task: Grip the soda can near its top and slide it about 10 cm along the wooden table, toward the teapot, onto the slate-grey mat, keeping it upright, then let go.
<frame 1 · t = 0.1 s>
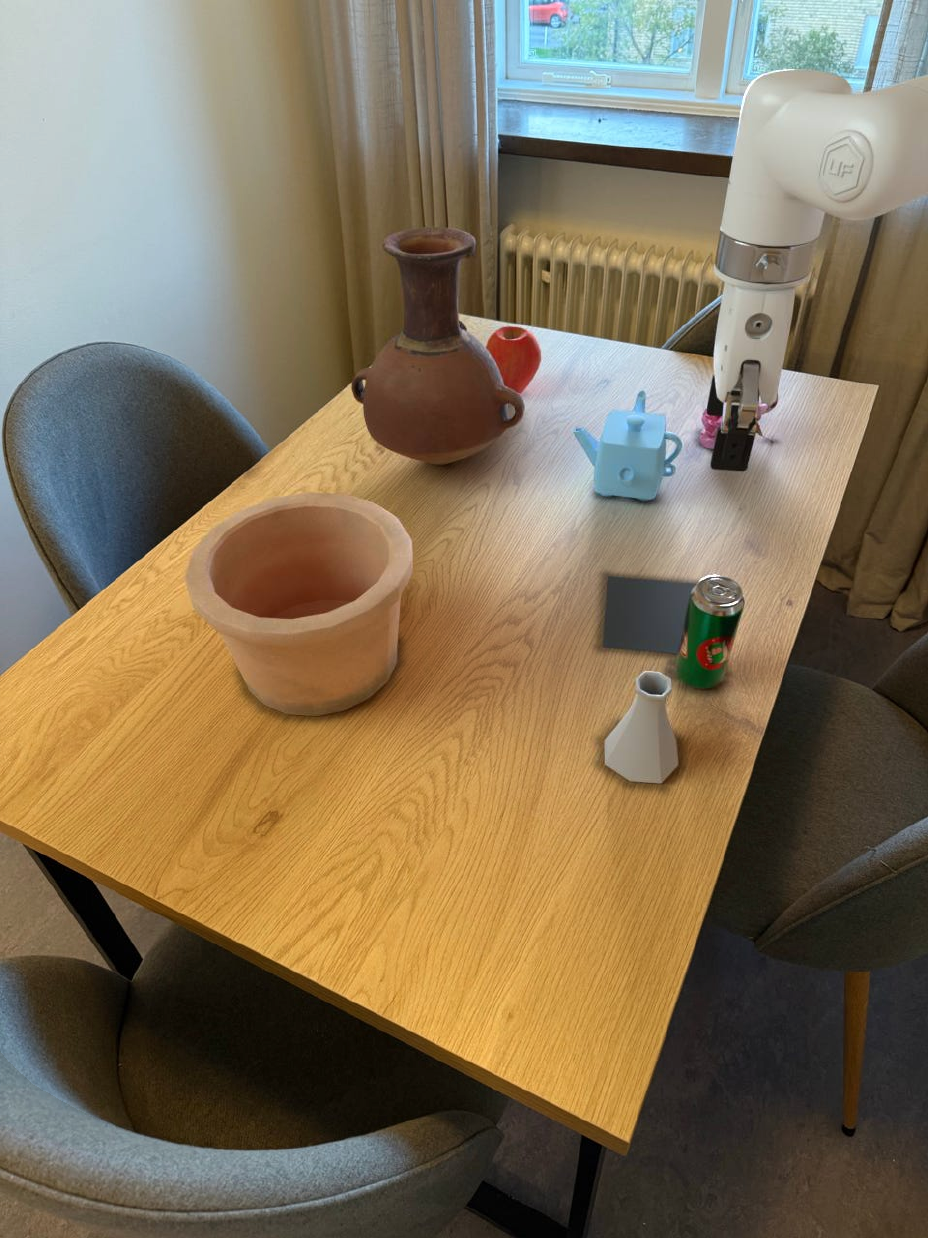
hand: (725, 440, 79), 22 cm above the table, tool pointing down, fingers open, 9 cm apart
vase: (438, 460, 119), on the table
mat: (659, 615, 94), on the table
pottery: (321, 660, 91), on the table
soda can: (698, 674, 87), on the table, touching mat
apple: (512, 395, 132), on the table
flower: (729, 441, 121), on the table
flask: (640, 755, 80), on the table
teapot: (621, 484, 113), on the table
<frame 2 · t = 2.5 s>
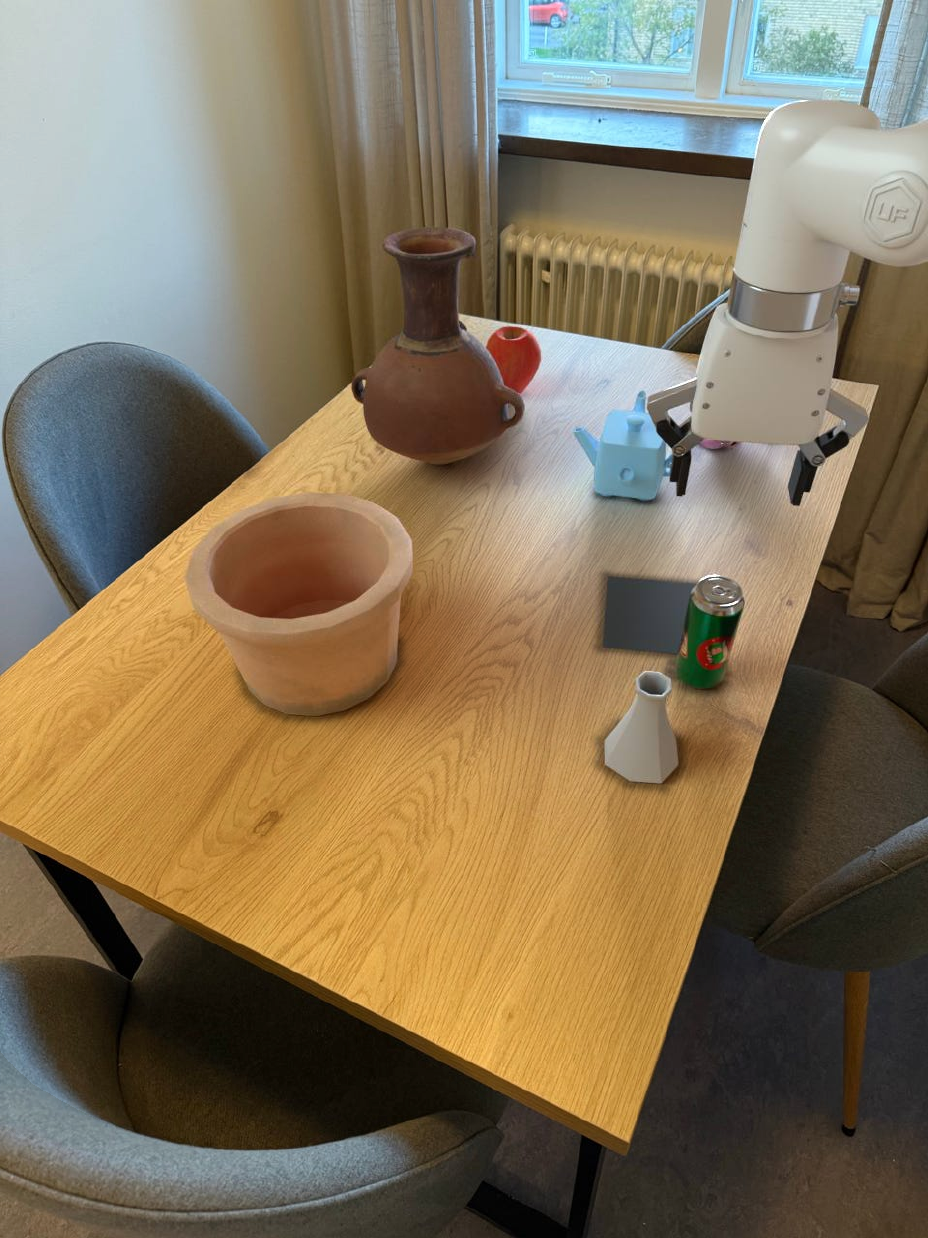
hand: (736, 492, 73), 22 cm above the table, tool pointing down, fingers open, 9 cm apart
nothing on the table moved.
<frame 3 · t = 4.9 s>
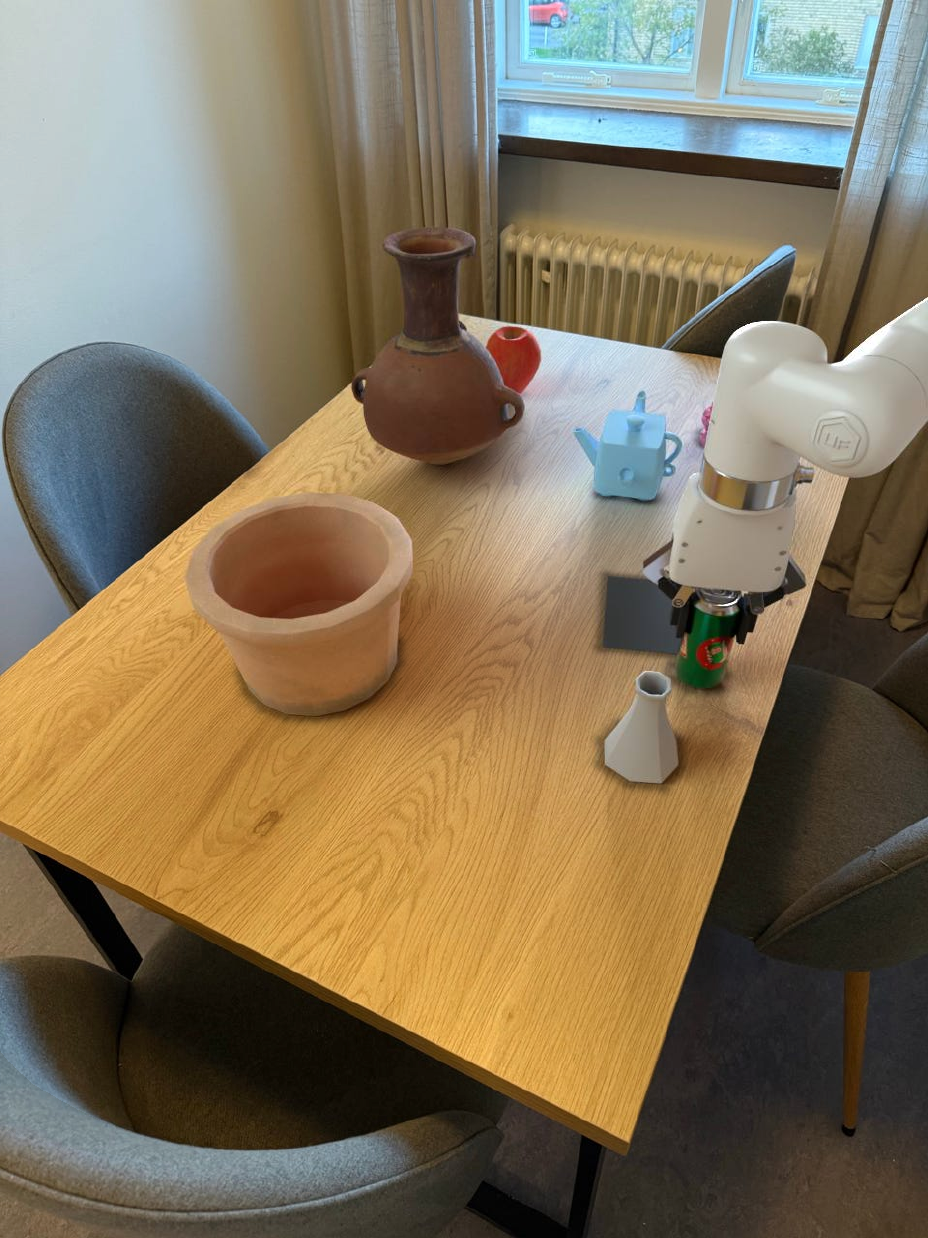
hand: (709, 630, 82), 7 cm above the table, tool pointing down, fingers closed on soda can, 5 cm apart
soda can: (698, 674, 87), on the table, touching gripper
everything else where it was.
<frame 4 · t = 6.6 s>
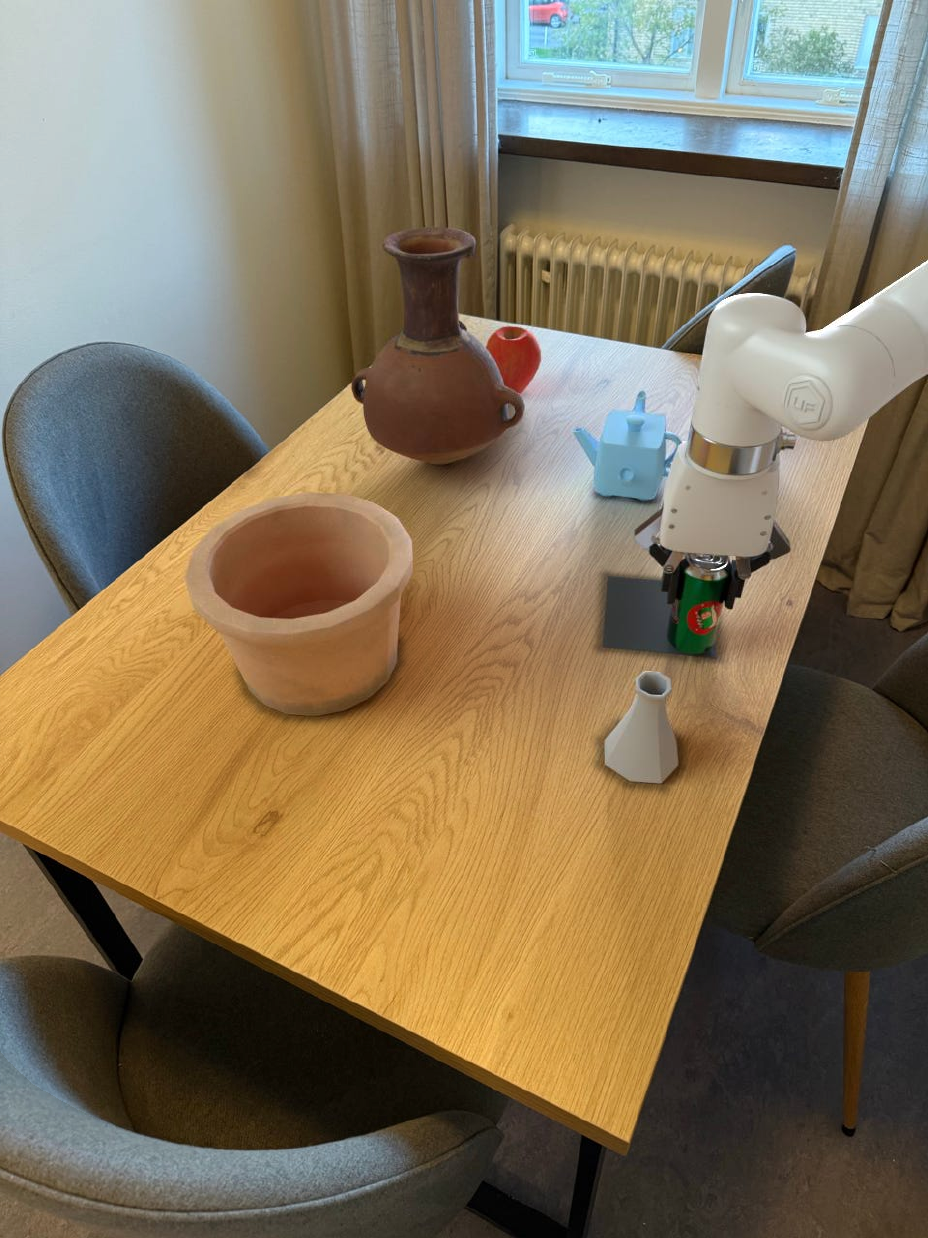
hand: (699, 596, 86), 7 cm above the table, tool pointing down, fingers closed on soda can, 5 cm apart
soda can: (689, 641, 91), resting on mat, touching gripper
everything else where it was.
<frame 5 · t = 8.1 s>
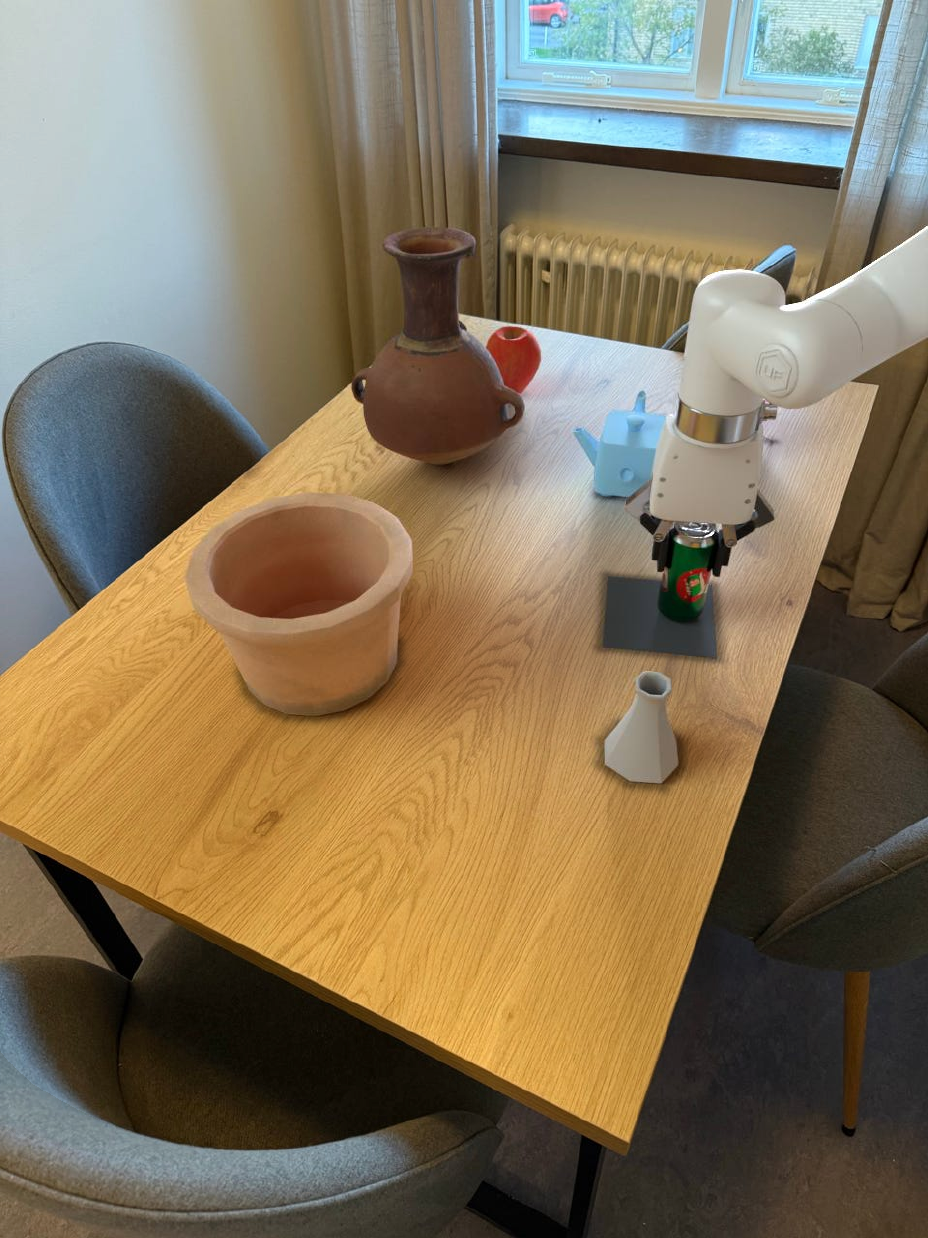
hand: (687, 565, 89), 7 cm above the table, tool pointing down, fingers closed on soda can, 5 cm apart
soda can: (679, 610, 94), resting on mat, touching gripper
everything else where it was.
when the fingers open (7 cm above the table, at t = 8.6 s): soda can stays where it is, resting on mat.
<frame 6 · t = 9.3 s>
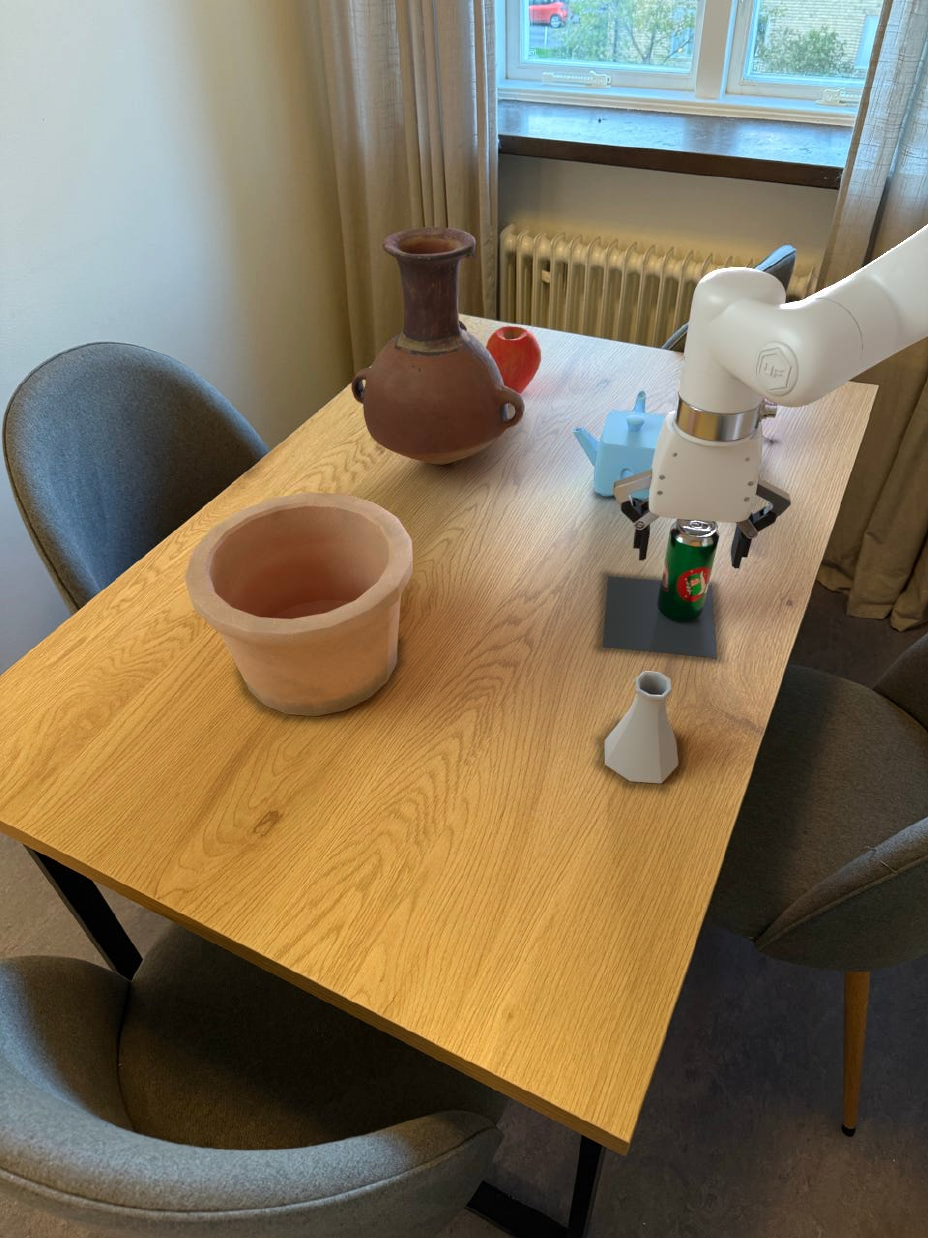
hand: (688, 556, 89), 8 cm above the table, tool pointing down, fingers open, 9 cm apart
soda can: (678, 611, 94), resting on mat
everything else where it was.
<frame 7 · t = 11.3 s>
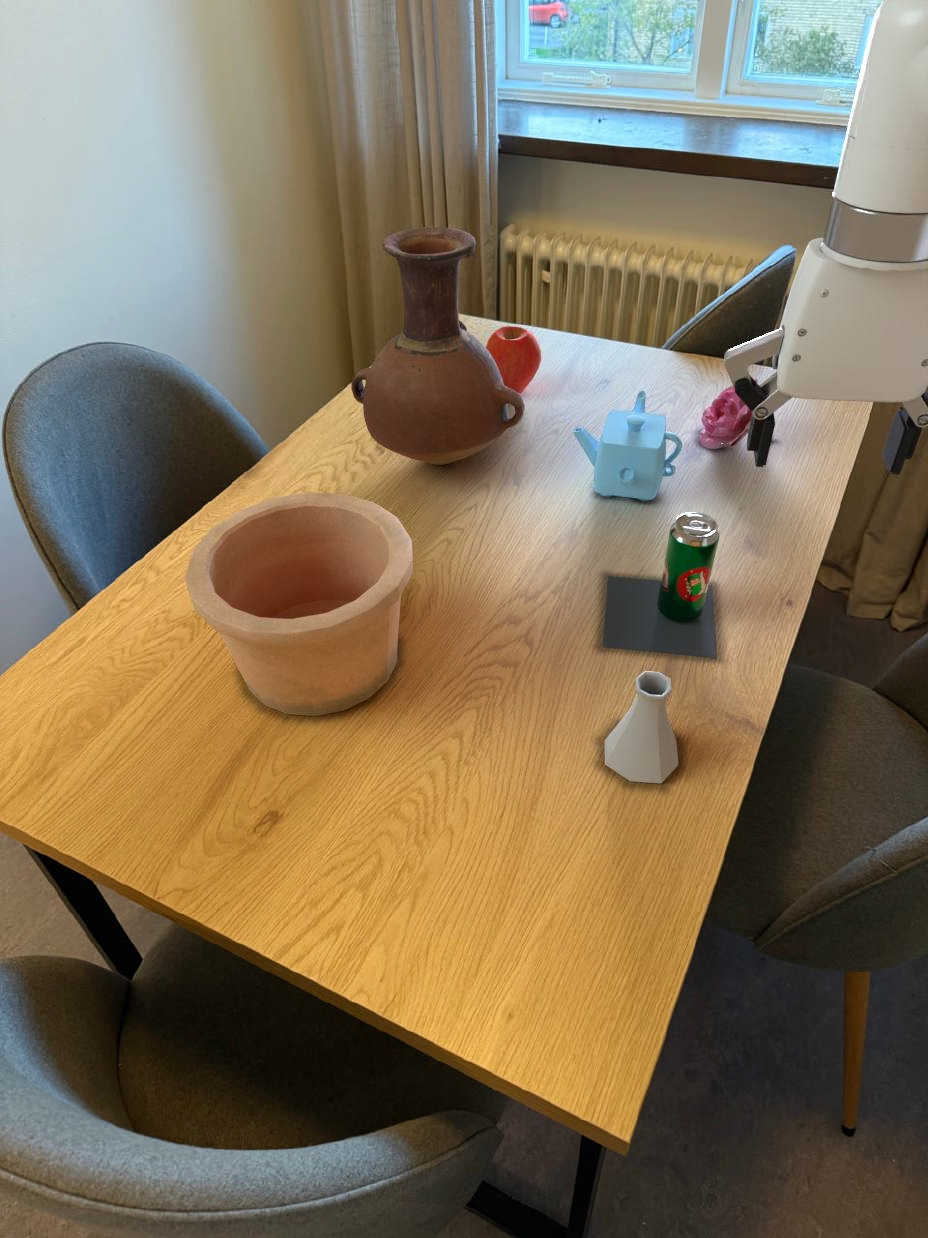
hand: (823, 461, 64), 29 cm above the table, tool pointing down, fingers open, 9 cm apart
nothing on the table moved.
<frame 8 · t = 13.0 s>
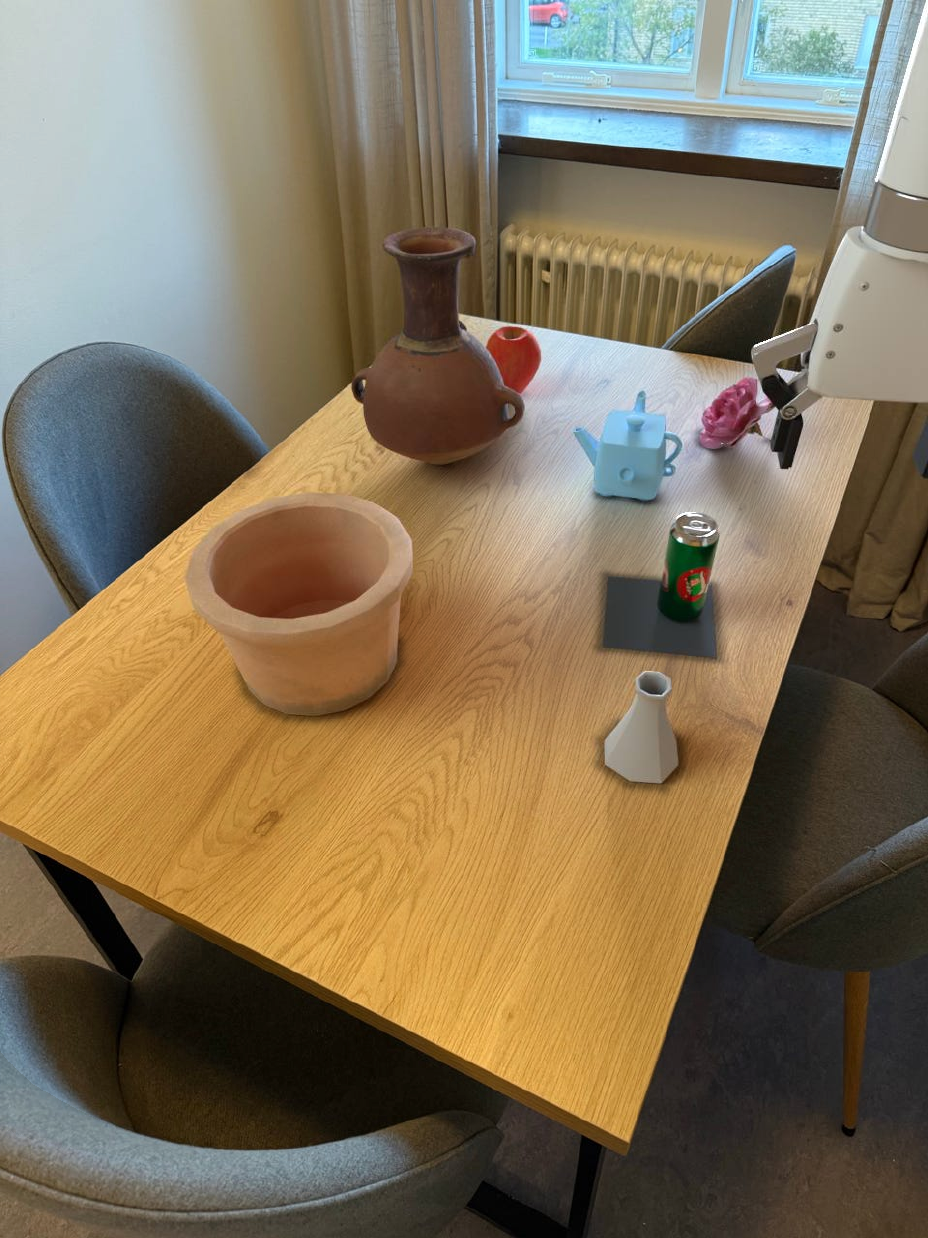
hand: (851, 463, 61), 30 cm above the table, tool pointing down, fingers open, 9 cm apart
nothing on the table moved.
at the end: soda can inside the target area on the mat (2.5 cm from its centre), point 0.0 cm above the mat's base; soda can tilted 0°; soda can 25.9 cm from the teapot (horizontally) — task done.
